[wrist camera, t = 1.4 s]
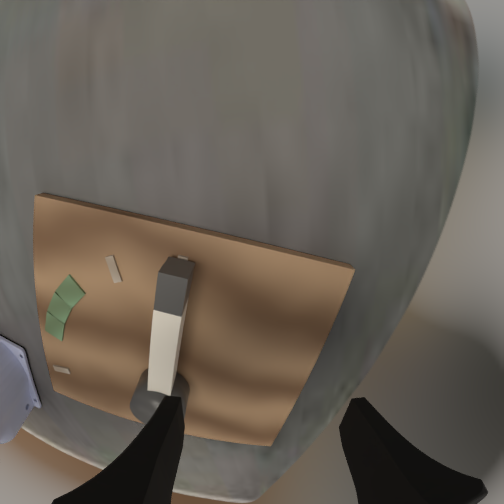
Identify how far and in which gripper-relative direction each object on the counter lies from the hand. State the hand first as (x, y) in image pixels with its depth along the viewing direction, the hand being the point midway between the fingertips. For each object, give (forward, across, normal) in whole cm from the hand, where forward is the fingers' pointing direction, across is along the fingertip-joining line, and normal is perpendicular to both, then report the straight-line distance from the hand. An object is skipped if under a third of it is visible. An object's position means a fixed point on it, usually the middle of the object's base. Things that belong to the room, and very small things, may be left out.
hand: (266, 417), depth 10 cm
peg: (+8, +6, +3) cm, 10 cm away
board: (+9, +7, +4) cm, 12 cm away
